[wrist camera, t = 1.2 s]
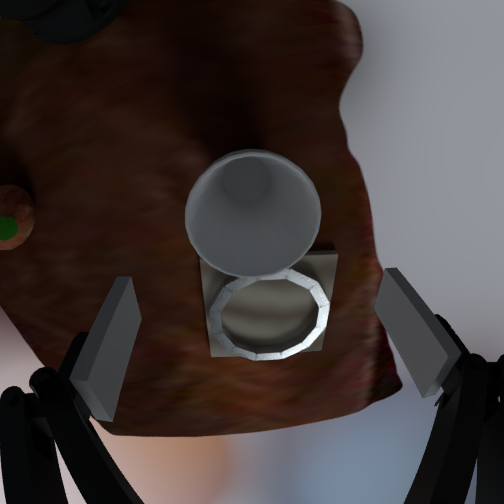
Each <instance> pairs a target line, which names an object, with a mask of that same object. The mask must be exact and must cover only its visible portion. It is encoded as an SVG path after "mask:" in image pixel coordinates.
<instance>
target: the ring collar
mask: <svg viewBox="0 0 504 504" xmlns="http://www.w3.org/2000/svg"><path fill="white" fill-rule="evenodd" d="M275 279H287V280H290V281H292V282H294V283H296V284H298V285H301V286H303V287H305V288H307V289H309V290H310V292H311V294H312V295H313V297H314V299H315V300H316V305H315V312H314V319H313V320H312V321H311V322H310V323H309V325H308V326H307V327H306V328H305V329H304V330H303V332H302V333H301V334H300V335H298V336H296V337H294V338H292V339H290V340H288V341H286V342H283V343H281V344H278V345H262V346H255V345H252V344H249V343H247V342H244V341H241V340H238V339H236V338H235V337H234V336H233V335H232V334H231V333H230V332H229V331H228V330H227V328H226V327H225V326H224V325H223V324H222V313H221V311H222V309H223V308H224V306H225V305H226V303H227V302H228V300H229V299H230V297H231V296H232V294H233V293H234V292H236V291H238V290H240V289H242V288H244V287H246V286H248V285H250V284H252V283H253V282H255V281H257V280H275ZM329 307H330V303H329V301H328V299H327V296H326V294H325V293H324V291H323V289H322V287H321V285H320V283H319V282H318V280H317V278H316V276H315V275H314V274H312V273H310V272H308V271H306V270H304V269H302V268H300V267H298V266H296V265H292V266H291V267H290V268H288V269H286V270H284V271H281V272H279V273H277V274H275V275H271V276H266V277H261V278H240V277H236V276H232V275H230V276H228V277H226V278H225V279H224V280H223V281H222V283H221V285H220V286H219V288H218V290H217V291H216V293H215V295H214V296H213V298H212V299H211V301H210V307H209V314H210V322H211V331H212V335H213V336H214V337H215V338H216V339H217V340H218V341H219V342H220V343H221V344H222V345H223V347H224V348H225V349H226V350H227V351H228V352H229V351H230V353H233V354H236V355H239V356H242V357H245V358H248V359H251V360H255V361H257V360H273V359H282V357H283V358H286V357H288V356H290V355H292V354H294V353H297V352H299V351H301V350H303V349H305V348H307V346H308V347H309V346H310V345H311V344H312V342H313V341H314V340H315V339H316V338H317V337H318V336H319V335H320V334H321V332H322V331H323V330H324V329H325V327H326V323H327V318H328V312H329Z"/></svg>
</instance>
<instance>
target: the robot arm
mask: <svg viewBox="0 0 504 504" xmlns="http://www.w3.org/2000/svg"><path fill="white" fill-rule="evenodd" d="M128 2H129V0H0V17H6V18H11V19H16V20H20V21H22V22H23V23H24V24H25V25H26V26H28V27H29V29H30V31H31V32H32V33H33V34H34V35H35V36H36V37H37V38H39V39H41V40H43V41H46V42H50V43H55V44H71V43H76V42H79V41H82V40H84V39H87V38H89V37H91V36H93V35H94V34H96V33H98V32H99V31H101V30H102V29H103V28H105V27H106V26H107V25H109V24H110V23H111V22H112V21H113V20H114V19H115V18H116V17H117V16H118V15H119V14H120V13H121V12H122V10H123V9H124V8H125V6H126V5H127V4H128ZM374 310H375V312H376V313H377V315H378V317H379V319H380V320H381V322H382V324H383V325H384V327H385V329H386V331H387V332H388V334H389V336H390V338H391V339H392V341H393V343H394V345H395V347H396V349H397V350H398V352H399V354H400V356H401V358H402V359H403V361H404V363H405V365H406V367H407V369H408V370H409V373H410V375H411V376H412V378H413V380H414V382H415V384H416V386H417V388H418V390H419V392H420V394H421V396H422V398H425V397H428V396H431V395H435V394H436V393H437V391H438V390H439V388H440V387H441V386H442V388H443V390H444V392H443V393H442V395H441V396H440V397H439V399H438V400H437V402H436V403H435V405H434V406H437V404H438V403H439V406H438V410H437V414H436V418H435V421H434V424H433V428H432V431H431V434H430V437H429V441H428V443H427V446H426V449H425V452H424V455H423V458H422V461H421V464H420V466H419V469H418V471H417V474H416V476H415V479H414V481H413V483H412V486H411V488H410V491H409V493H408V495H407V497H406V499H405V502H404V504H464V503H465V500H466V497H467V494H468V490H469V487H470V483H471V480H472V476H473V472H474V468H475V464H476V459H477V486H476V500H475V504H504V354H503V355H501V356H500V358H499V359H498V361H497V362H486V360H485V359H484V358H483V357H482V356H480V355H478V354H474V353H472V354H470V352H469V351H468V349H467V348H466V347H465V345H464V344H463V342H462V341H461V340H460V338H459V337H458V336H457V334H455V331H454V330H453V329H451V326H450V325H449V323H448V322H447V321H446V320H445V319H444V318H443V317H441V316H440V315H438V314H435V315H434V314H433V313H432V311H431V310H430V309H429V307H428V306H427V305H426V303H425V302H424V301H423V300H422V298H421V297H420V296H419V295H418V293H417V292H416V291H415V289H414V288H413V287H412V286H411V285H410V283H409V282H408V281H407V280H406V278H405V277H404V276H403V275H402V274H401V272H400V271H399V270H398V269H397V268H385V270H384V274H383V278H382V281H381V285H380V289H379V293H378V296H377V300H376V303H375V307H374ZM140 322H141V315H140V311H139V307H138V304H137V300H136V296H135V292H134V287H133V283H132V279H131V277H117V278H116V280H115V282H114V284H113V286H112V288H111V290H110V292H109V294H108V295H107V297H106V299H105V301H104V303H103V305H102V307H101V309H100V311H99V313H98V315H97V318H96V320H95V322H94V324H93V326H92V328H91V330H90V332H80V333H79V334H78V335H77V336H76V337H75V338H74V339H73V341H72V343H71V345H70V347H69V349H68V351H67V353H66V356H65V358H64V360H63V362H62V364H61V366H60V368H59V371H58V373H57V372H56V371H55V369H53V368H51V367H43V368H39V369H38V370H37V371H35V372H34V373H33V374H32V375H31V377H30V380H29V386H30V388H31V389H32V391H33V392H34V393H26V394H25V393H24V392H23V391H22V390H21V388H19V387H17V386H11V387H9V388H7V389H6V390H4V391H3V393H2V395H1V398H0V456H1V469H2V478H3V486H4V493H5V499H6V504H68V500H67V497H66V493H65V489H64V485H63V481H62V477H61V473H60V468H59V464H58V458H57V453H56V447H55V442H56V444H57V447H58V449H59V451H60V454H61V456H62V458H63V460H64V462H65V464H66V466H67V468H68V470H69V472H70V474H71V476H72V478H73V480H74V482H75V484H76V485H77V487H78V489H79V491H80V493H81V495H82V496H83V498H84V500H85V501H86V503H87V504H144V503H143V501H142V500H141V499H140V497H139V496H138V495H137V493H136V492H135V491H134V489H133V488H132V487H131V485H130V484H129V482H128V481H127V480H126V478H125V477H124V475H123V474H122V472H121V471H120V469H119V468H118V466H117V465H116V463H115V462H114V460H113V459H112V457H111V455H110V454H109V452H108V451H107V449H106V447H105V446H104V444H103V442H102V441H101V439H100V437H99V436H98V434H97V432H96V430H95V429H94V427H93V425H92V423H91V422H90V420H89V418H90V414H91V413H92V414H93V415H94V417H95V418H96V419H98V420H104V421H111V422H113V418H114V414H115V410H116V406H117V402H118V398H119V394H120V390H121V386H122V383H123V379H124V375H125V372H126V368H127V365H128V361H129V358H130V355H131V351H132V348H133V345H134V341H135V338H136V335H137V332H138V328H139V325H140ZM499 396H500V402H499V401H498V397H499ZM54 440H55V441H54Z"/></svg>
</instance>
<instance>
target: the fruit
mask: <svg viewBox="0 0 504 504" xmlns="http://www.w3.org/2000/svg"><path fill="white" fill-rule="evenodd" d="M34 222H35V206H34V203H33V201H32V198H31V197H30V195H29V193H28V192H27V191H26V190H25V189H23V188H21V187H19V186H17V185H13V184H6V185H2V186H0V250H7V249H13V248H15V247H17V246H19V245H20V244H22V243H23V242H24V241H25V240H26V239H27V237H28V236H29V235H30V233H31V231H32V229H33V225H34Z"/></svg>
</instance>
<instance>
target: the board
mask: <svg viewBox="0 0 504 504" xmlns="http://www.w3.org/2000/svg"><path fill="white" fill-rule="evenodd" d="M337 259H338V253H337V252H336V250H327V251H307V252H306V254H305V255H304V256H303V257H302V258H301V259H300V260H299V261H297V262H296V263H295V264H294V265H296V266H298V267H300V268H302V269H304V270H306V271H308V272H310V273H312V274H314V275H315V276H316V278H317V280H318V282H319V283H320V285H321V287H322V289H323V291H324V293H325V294H326V296H327V299H328V301H329V303H330V302H331V296H332V291H333V284H334V278H335V272H336V265H337ZM200 267H201V277H202V286H203V295H204V303H205V312H206V320H207V328H208V335H209V343H210V350H211V357H230V356H239V355H236V354H233V353H230V351H229V352H228V351H227V350H226V349H225V348H224V347H223V345H222V344H221V343H220V342H219V341H218V340H217V339H216V338H215V337H214V336H213V335H212V331H211V322H210V314H209V307H210V301H211V299H212V298H213V296H214V295H215V293H216V291H217V290H218V288H219V286H220V285H221V283H222V281H223V280H224V279H225V278H226V277H228V276H230V275H228V274H225V273H223V272H221V271H219V270H217V269H215V268H214V267H212V266H210V265H209V264H208V263H207V262H206V261H205V260H204V259H203V258H201V257H200ZM315 305H316V300H315V299H314V297H313V295H312V294H311V292H310V290H309V289H307V288H305V287H303V286H301V285H298V284H296V283H294V282H292V281H290V280H287V279H275V280H257V281H255V282H253V283H252V284H250V285H248V286H246V287H244V288H242V289H240V290H238V291H236V292H234V293H233V294H232V296H231V297H230V299H229V300H228V302H227V303H226V305H225V306H224V308H223V309H222V311H221V313H222V324H223V325H224V326H225V327H226V328H227V330H228V331H229V332H230V333H231V334H232V335H233V336H234V337H235V338H236V339H238V340H241V341H244V342H247V343H249V344H252V345H255V346H262V345H278V344H281V343H283V342H286V341H288V340H290V339H292V338H294V337H296V336H298V335H300V334H301V333H302V332H303V330H304V329H305V328H306V327H307V326H308V325H309V323H310V322H311V321H312V320H313V319H314V312H315ZM329 308H330V307H329ZM328 313H329V312H328ZM327 319H328V318H327ZM326 324H327V323H326ZM325 329H326V327H325ZM325 329H324V330H323V331H322V332H321V334H320V335H319V336H318V337H317V338H316V339H315V340H314V341H313V342H312V344H311V345H310V346H309V347H308V346H307V348H305V349H303V350H301V351H299V352H308V351H317V350H321V349H322V344H323V339H324V334H325Z"/></svg>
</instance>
